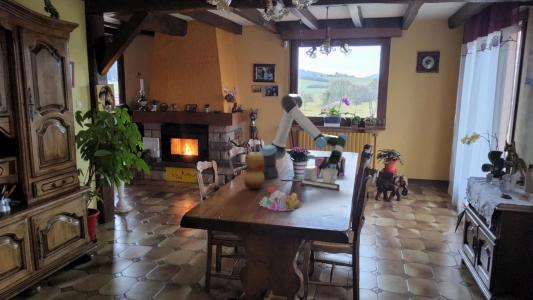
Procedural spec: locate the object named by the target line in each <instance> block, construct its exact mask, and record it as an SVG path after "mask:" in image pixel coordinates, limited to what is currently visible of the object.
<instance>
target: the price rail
mask: <svg viewBox="0 0 533 300" xmlns="http://www.w3.org/2000/svg"><path fill="white" fill-rule="evenodd" d="M300 186H306V187H312V188H317V189H323V190H324V189H325V190H329V191H335V190H336V192H339V191H340V189H341V187H340V184H338V183H335V184H333V183H327V182H322V181H319V180H317V181H314V180H307V179H304V178H301V179H300Z"/></svg>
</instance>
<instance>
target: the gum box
mask: <svg viewBox="0 0 533 300" xmlns="http://www.w3.org/2000/svg"><path fill="white" fill-rule="evenodd" d="M325 157H326V158H329V157H330V156H315V157H314V166H315V167H317V176H319V174H320V173H319V171H320V169H319V166H320V164H321V163H322V162H323V161H324V159H325ZM342 159H343V160H344V163H343V173H342V172H341V173H340V175H339V176H345V172H346V170H345V168H346V158H345V157H344V156H341V159H340V160H342ZM328 161H329V160H328ZM328 161H327V162H328ZM327 162H326V163H327ZM326 163H325V164H326ZM329 163H330V162H329ZM338 166H339V169H340V170H341V162H339V163H338ZM327 168H330V169H335V174H336V172H337V171H338V169H337V166H336V164H335V165H334V164H331V165H329V166H327V167H326V168H325V169H327ZM322 176H323V174H322Z"/></svg>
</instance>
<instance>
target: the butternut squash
mask: <svg viewBox="0 0 533 300" xmlns="http://www.w3.org/2000/svg"><path fill="white" fill-rule="evenodd" d="M245 166H246V167H245V168H246V172H245V175H244V179H243V181H244V182H243V183H244V185H245V187H246V188H248V189H250V190H258V189H261V187H263V186H264V183H265V178H264V174H263V168H264V156H263V154H261V152H259V151H251V152H249V153H248V154H247V156H246V161H245Z"/></svg>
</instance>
